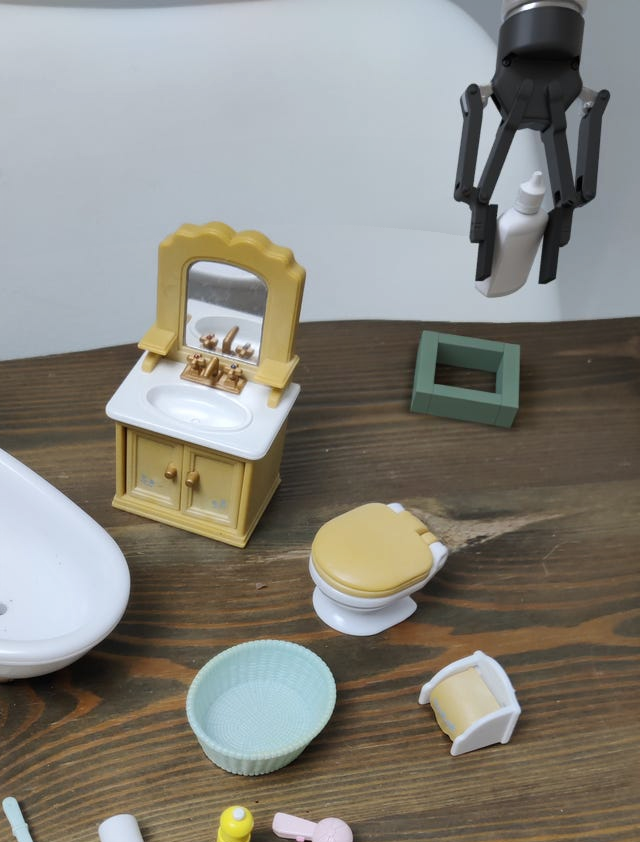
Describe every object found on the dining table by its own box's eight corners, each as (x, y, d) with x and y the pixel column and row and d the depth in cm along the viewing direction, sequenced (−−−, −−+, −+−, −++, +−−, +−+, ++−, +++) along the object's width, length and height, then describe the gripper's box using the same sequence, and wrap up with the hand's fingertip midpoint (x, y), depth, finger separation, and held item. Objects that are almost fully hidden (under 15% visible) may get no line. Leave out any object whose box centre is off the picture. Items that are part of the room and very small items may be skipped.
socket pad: (511, 369, 114) (520, 344, 112) (508, 432, 108) (518, 407, 105) (416, 354, 116) (423, 329, 113) (408, 415, 110) (416, 391, 107)
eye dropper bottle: (531, 299, 99) (574, 186, 89) (476, 299, 99) (513, 185, 89) (521, 273, 102) (562, 160, 92) (467, 273, 101) (502, 160, 92)
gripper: (624, 42, 95) (594, 291, 99) (432, 34, 95) (410, 283, 99) (661, 5, 88) (627, 276, 92) (453, -3, 88) (429, 267, 92)
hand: (514, 279), depth 95 cm, fingers closed on eye dropper bottle, 5 cm apart
